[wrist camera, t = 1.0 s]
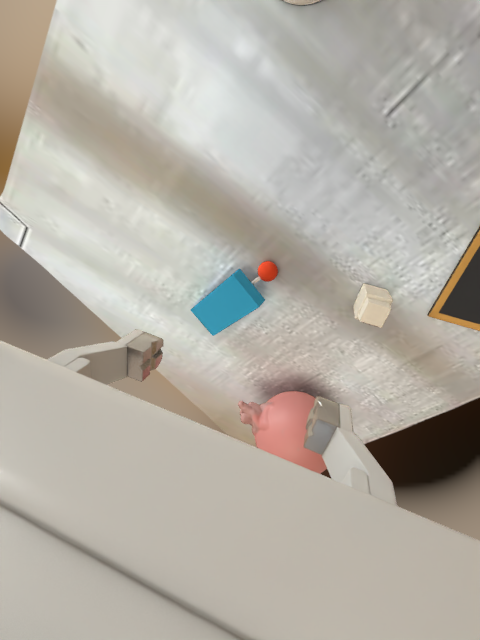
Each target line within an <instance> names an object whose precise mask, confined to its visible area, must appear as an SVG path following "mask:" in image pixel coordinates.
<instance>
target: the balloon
mask: <svg viewBox="0 0 480 640" xmlns="http://www.w3.org/2000/svg"><path fill="white" fill-rule="evenodd" d="M315 399H316V398H315V397H313V396H311V395H309V394H306V393H303V392H298V391H288V392H283V393H280V394H278V395H275V396H274V397H272V398H271V399H269V400H268V401H267V402H266V403H263V404H260V405H259V404H256V403H254V402H250V403H249V404H246V403H244V402H243V401H239V403H238V406H239V408H240V409H241V410H240V415H241V422H242V423H244V424H250V425H251V426H252V433H253V434H254V436H255V441H256V446H257V448H259V449H261V450H264V451H266V452H268V453H271V454H273V455H275V456H278V457H280V458H283V459H285V460H287V461H290V462H292V463H295V464H297V465H299V466H302V467H304V468H307V469H309V470H311V471H314V472H316V473H319V474H320V473H322V472H323V471H324V470H325V469H326V468H327V467H326V465H325V462H324V460H323V458H322V455H320V454H318V453H316V452H313V451H311V450H309V449H306V448H304V438H305V434H306V432H307V430H306V422H307V418H308V415H309V413H310V410H311V409H312V408H314V401H315Z"/></svg>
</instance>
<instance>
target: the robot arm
mask: <svg viewBox="0 0 480 640" xmlns="http://www.w3.org/2000/svg"><path fill="white" fill-rule="evenodd" d="M283 1H285V2H288V3H291V4H296V5H307V4H313V3H316V2H319V1H321V0H283ZM162 346H163V339H162V338H159V337H157V336H154V335H152V334H149V333H147V332H144V331H141V330H139V329H135V330H134V331H132V332H131V333H129V334H128V335H126V336H125V337H123V338H122V339H120V340H119V341H117V342H107V343H101V344H96V345H89V346H83V347H77V348H72V349H66V350H63V351H62V352H60V353H58V354H56V355H55V356H53V357H51V358H49V359H48V360H46V359H44V358H41V357H39V356H36V355H34V354H31V353H29V352H27V351H24V350H22V349H20V348H17V347H14V346H12V345H10V344H8V343H5V342H3V341H0V640H480V541H479V540H477V539H474V538H472V537H470V536H467V535H465V534H462V533H460V532H457V531H455V530H452V529H450V528H448V527H446V526H443V525H441V524H438V523H436V522H433V521H431V520H429V519H426V518H424V517H421V516H419V515H417V514H414V513H412V512H410V511H406V510H405V509H402V508H400V507H398V506H397V503H396V498H395V493H394V489H393V484H392V481H391V480H390V479H389V477H388V476H387V475H386V473H385V472H384V471H383V469H382V468H381V467H380V465H379V464H378V463H377V461H376V460H375V459H374V457H373V456H372V455H371V453H370V452H369V451H368V449H367V448H366V447H365V445H364V444H363V443H362V441H361V440H360V439H359V437H358V436H357V435H356V434H354V433H353V426H352V415H351V408H350V407H349V406H346V405H343V404H340V403H336V402H334V401H331V400H328V399H325V398H323V397H320V396H317V397H316V399H315V401H314V408H312V409H311V410H310V413H309V415H308V418H307V422H306V430H307V432H306V434H305V438H304V448H306V449H309V450H311V451H313V452H316V453H318V454H320V455H322V458H323V460H324V462H325V465H326V467H327V469H328V471H329V473H330V476H331V478H332V479H331V478H328V477H326V476H323V475H321V474H319V473H316V472H314V471H311V470H309V469H307V468H304V467H302V466H299V465H297V464H295V463H292V462H290V461H287V460H285V459H283V458H280V457H278V456H275V455H273V454H271V453H268V452H266V451H264V450H261V449H259V448H256V447H254V446H252V445H249V444H247V443H244V442H242V441H240V440H237V439H235V438H232V437H230V436H228V435H225V434H223V433H220V432H218V431H216V430H213V429H211V428H208V427H206V426H204V425H201V424H199V423H196V422H194V421H192V420H189V419H187V418H185V417H182V416H180V415H177V414H175V413H173V412H170V411H168V410H165V409H163V408H161V407H158V406H156V405H153V404H151V403H148V402H146V401H144V400H142V399H139V398H137V397H134V396H132V395H130V394H127V393H125V392H122V391H120V390H117V389H115V388H112V387H110V386H108V385H107V384H110V383H112V382H115V381H118V380H120V379H123V378H125V377H127V376H128V377H130V378H133V379H136V380H138V381H141V382H142V381H143V380H144V379H145V378H146V377H147V376H148V375H149V374H150V370H154V369H156V368H157V367H158V365H159V364H160V362H161V359H162V354H163V353H162V351H161V349H160V348H161V347H162Z"/></svg>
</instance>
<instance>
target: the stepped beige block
mask: <svg viewBox="0 0 480 640" xmlns="http://www.w3.org/2000/svg"><path fill="white" fill-rule="evenodd" d="M392 302H393V300H392V298H391V296H390V294H389V292H388V290H386V289H383V288H379V287H375V286H372V285H368V284H365V283H363V285H362V288H361V290H360V292H359V294H358V297H357V299H356V301H355V304H354V306H353V309H354V315H355V319H358V320H360V321H361V322H363V323H367V324H370V325H373V326H377V327H381V328H382V326H383V324H384V322H385V320H386V319H387V317H388V315H389V313H390V311H391V307H390V305H391V304H392Z"/></svg>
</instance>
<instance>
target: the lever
mask: <svg viewBox="0 0 480 640" xmlns="http://www.w3.org/2000/svg"><path fill="white" fill-rule="evenodd" d="M277 273H278V270H277V267H276V265H275V264H274V263H272V262H269V261H266V262H263V263H262V264H261V265H260V266H259V268H258V275H259V276H258V277H257V278H256V279H255V280H253V281H252V282H250V281H249V279H248V278H247V277H246V276H245V274H244V273H243V272H242V271H241V269H238V270H237V271H236V272H235V273H233V274H232V275H231V276H230V277H229V278H228V279H226V280H225V281H224V282H223V283H222V284H220V285H219V286H218V287H217V288H216V289H215V290H213V291H212V292H211V293H210V294H209V295H207V296H206V297H205V298H204V299H203V300H202V301H200V302H199V303H198V304H197V305H196V306H194V307H193V308H192V309H191V311H192V312H193V313H194V315H195V316H196V317H197V318H198V319H199V320H200V322H201V323H202V324H203V325H204V326H205V327H206V328H207V330H208V331H209V332H210V333H211V334H212V335H213V336H214V335H215V334H217V333H218V332H220V331H222V330H223V329H225V328H226V327H228V326H230V325H231V324H233V323H234V322H236V321H238V320H239V319H241V318H242V317H244V316H246V315H247V314H249V313H250V312H252V311H254V310H255V309H257V308H258V307H259V306H260V305H261V304H262V303H263V302H264V301H265V299H264V298H263V297H262V295H261V294H260V293H259V292H258V290H257V289H256V288H255V287H254V284H255V283H257V282H258V281H259V280H261V279H262V280H263V281H272V280H273V279H275V277H276V276H277Z"/></svg>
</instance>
